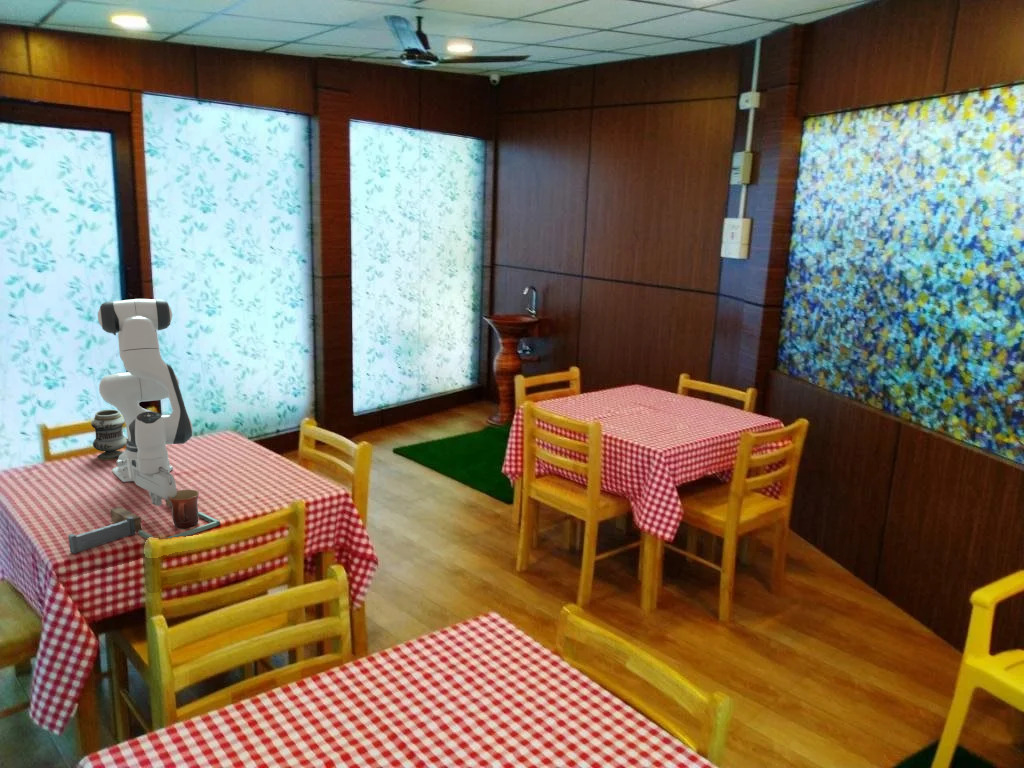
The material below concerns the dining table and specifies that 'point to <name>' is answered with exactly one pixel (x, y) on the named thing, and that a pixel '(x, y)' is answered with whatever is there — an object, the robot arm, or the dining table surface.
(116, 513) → the wooden blocks
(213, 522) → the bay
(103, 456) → the apothecary jar
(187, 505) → the mug
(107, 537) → the gate
